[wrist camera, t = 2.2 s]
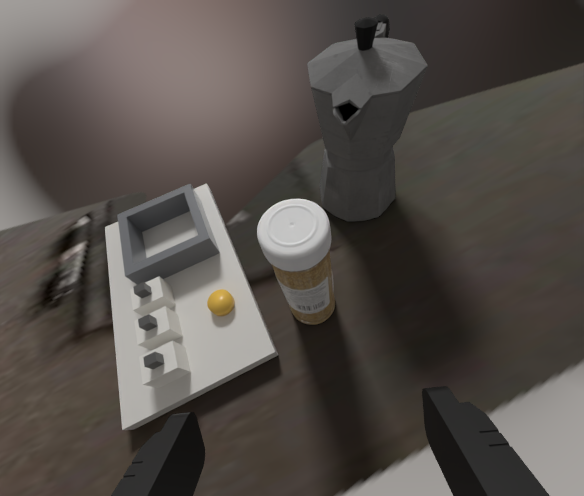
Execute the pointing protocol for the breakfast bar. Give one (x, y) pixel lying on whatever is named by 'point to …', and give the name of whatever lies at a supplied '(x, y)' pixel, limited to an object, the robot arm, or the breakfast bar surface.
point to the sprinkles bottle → (300, 256)
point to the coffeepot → (363, 116)
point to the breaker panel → (179, 305)
